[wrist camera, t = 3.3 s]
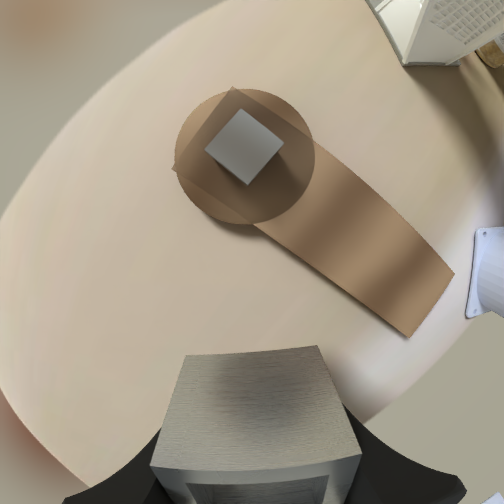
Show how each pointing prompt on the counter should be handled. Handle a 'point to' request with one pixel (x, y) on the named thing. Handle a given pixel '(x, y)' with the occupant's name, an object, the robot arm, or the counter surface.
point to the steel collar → (256, 431)
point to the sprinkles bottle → (493, 52)
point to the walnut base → (306, 203)
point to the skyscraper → (438, 28)
